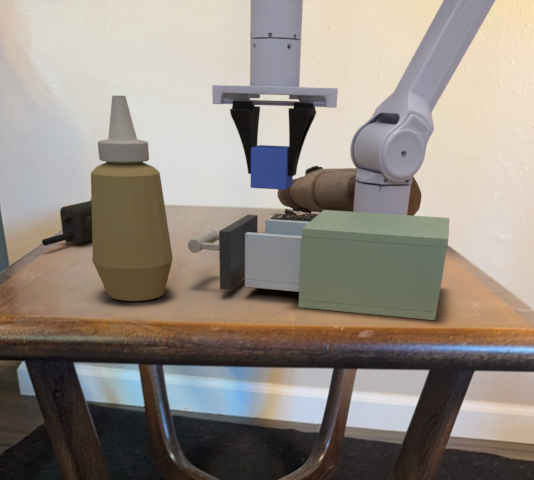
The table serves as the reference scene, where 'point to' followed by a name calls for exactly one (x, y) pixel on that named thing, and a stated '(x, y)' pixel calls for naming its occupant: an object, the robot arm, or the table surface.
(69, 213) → the walkie-talkie
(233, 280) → the grey drawer
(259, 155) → the blue rounded cube
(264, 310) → the table surface
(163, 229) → the squeeze bottle
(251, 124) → the robot arm
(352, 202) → the boot
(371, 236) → the drawer cabinet
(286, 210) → the knife
